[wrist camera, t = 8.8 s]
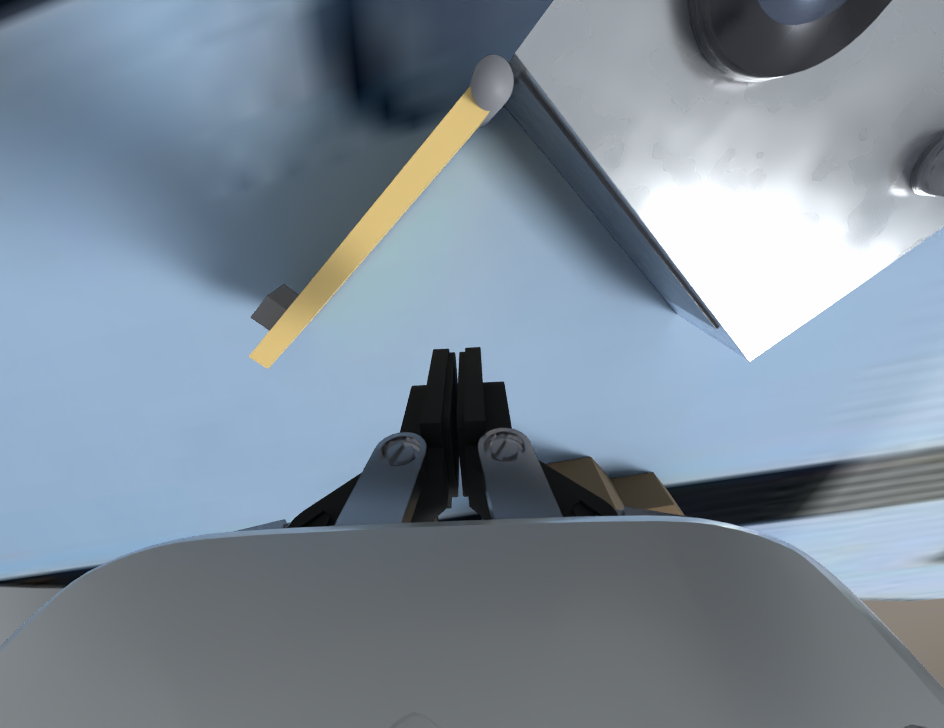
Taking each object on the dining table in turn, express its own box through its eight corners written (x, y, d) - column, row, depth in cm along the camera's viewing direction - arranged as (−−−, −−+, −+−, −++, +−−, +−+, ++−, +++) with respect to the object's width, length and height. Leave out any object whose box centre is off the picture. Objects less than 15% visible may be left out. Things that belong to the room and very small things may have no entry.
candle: (606, 557, 39) (684, 754, 26) (497, 538, 36) (523, 750, 23) (681, 479, 32) (834, 686, 19) (557, 447, 29) (641, 668, 16)
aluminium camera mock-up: (880, 151, 19) (1107, 143, 12) (676, 316, 23) (763, 374, 17) (741, -243, 12) (1079, -720, 6) (490, 94, 17) (517, 46, 10)
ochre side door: (313, 323, 22) (265, 377, 16) (279, 298, 21) (216, 346, 15) (497, 111, 17) (522, 83, 11) (464, 66, 16) (472, 10, 10)
